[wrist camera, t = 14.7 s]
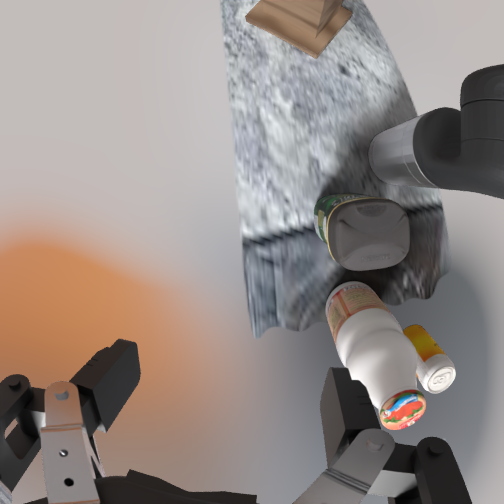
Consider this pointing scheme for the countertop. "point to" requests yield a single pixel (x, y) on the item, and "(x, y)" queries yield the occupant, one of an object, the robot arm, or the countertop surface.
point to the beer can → (430, 361)
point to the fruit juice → (376, 352)
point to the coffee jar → (363, 230)
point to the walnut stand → (301, 21)
